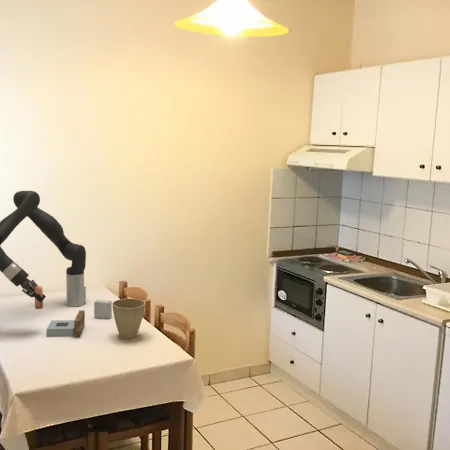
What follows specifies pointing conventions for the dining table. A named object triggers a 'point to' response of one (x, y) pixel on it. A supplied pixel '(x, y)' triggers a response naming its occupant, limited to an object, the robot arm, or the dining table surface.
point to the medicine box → (103, 309)
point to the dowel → (39, 290)
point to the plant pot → (128, 316)
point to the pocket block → (60, 328)
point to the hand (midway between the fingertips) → (43, 299)
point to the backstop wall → (79, 323)
